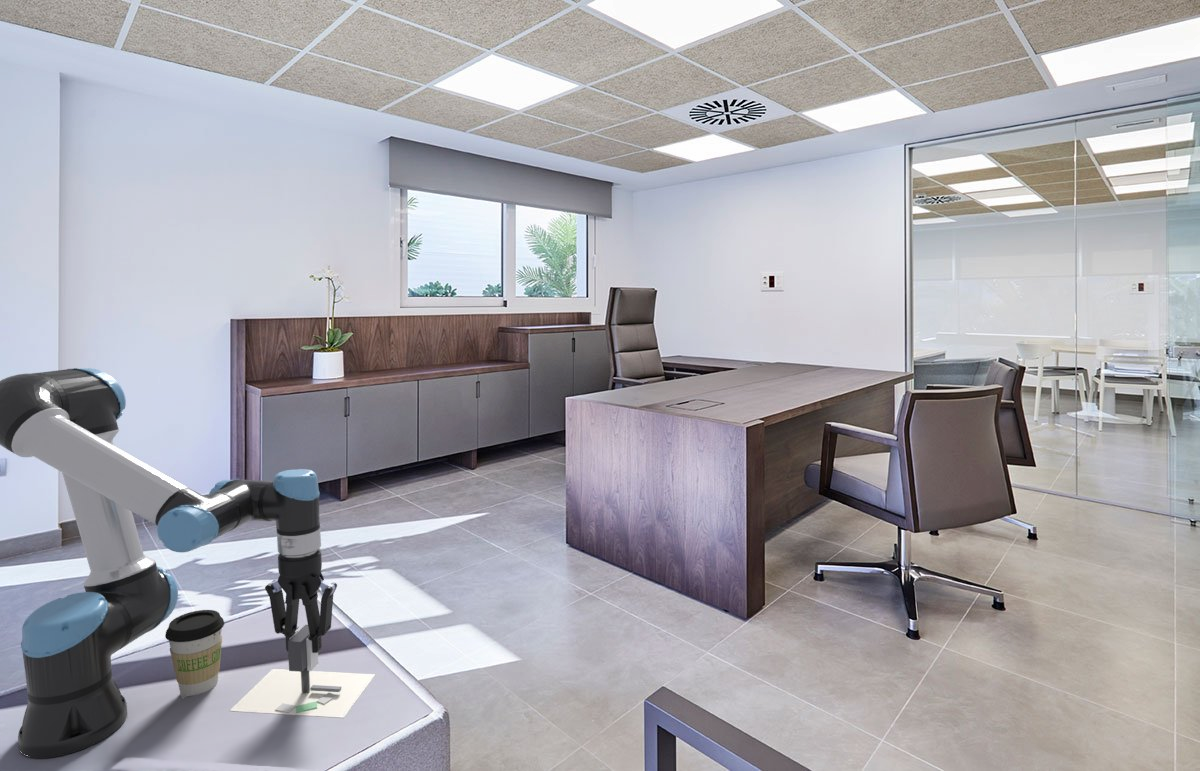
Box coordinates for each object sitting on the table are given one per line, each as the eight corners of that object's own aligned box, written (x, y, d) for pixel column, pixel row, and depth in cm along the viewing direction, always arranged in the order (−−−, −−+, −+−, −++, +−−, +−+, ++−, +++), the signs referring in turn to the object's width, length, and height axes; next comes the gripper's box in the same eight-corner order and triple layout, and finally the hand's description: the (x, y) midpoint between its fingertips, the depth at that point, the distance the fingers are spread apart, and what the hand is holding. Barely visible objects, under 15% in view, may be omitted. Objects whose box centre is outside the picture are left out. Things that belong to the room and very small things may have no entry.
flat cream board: (229, 716, 119) (229, 709, 119) (272, 674, 133) (272, 667, 133) (343, 723, 118) (343, 716, 117) (375, 679, 131) (375, 673, 131)
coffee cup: (200, 709, 121) (195, 635, 119) (157, 702, 123) (151, 629, 121) (239, 680, 131) (235, 611, 129) (198, 674, 132) (193, 605, 131)
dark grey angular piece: (290, 700, 122) (287, 641, 120) (308, 680, 128) (305, 624, 127) (332, 702, 121) (330, 643, 120) (347, 683, 128) (345, 626, 126)
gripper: (248, 556, 118) (254, 675, 121) (329, 560, 117) (334, 679, 120) (271, 542, 126) (277, 654, 129) (348, 545, 125) (352, 658, 128)
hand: (304, 666), depth 124 cm, fingers closed on dark grey angular piece, 3 cm apart
